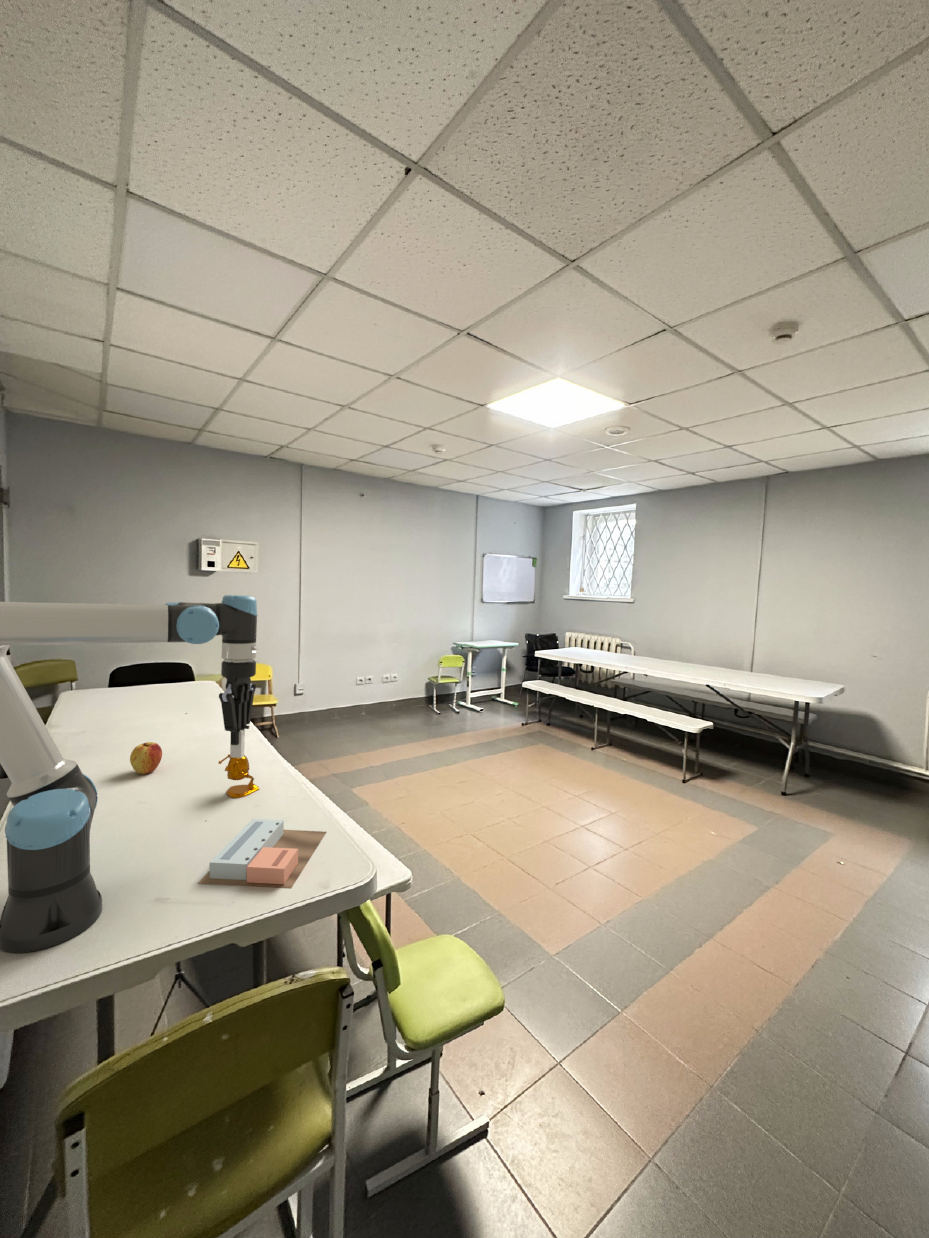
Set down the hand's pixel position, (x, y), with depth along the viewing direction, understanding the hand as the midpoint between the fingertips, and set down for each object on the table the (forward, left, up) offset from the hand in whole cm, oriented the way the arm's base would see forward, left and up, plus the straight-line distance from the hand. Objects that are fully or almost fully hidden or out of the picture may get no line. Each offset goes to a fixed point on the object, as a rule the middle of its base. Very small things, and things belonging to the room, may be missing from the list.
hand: (237, 756), depth 120 cm
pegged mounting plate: (-5, -5, -22) cm, 23 cm away
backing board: (-5, -10, -22) cm, 25 cm away
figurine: (+30, +14, -22) cm, 40 cm away
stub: (-12, -14, -21) cm, 28 cm away
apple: (+42, +52, -22) cm, 70 cm away
